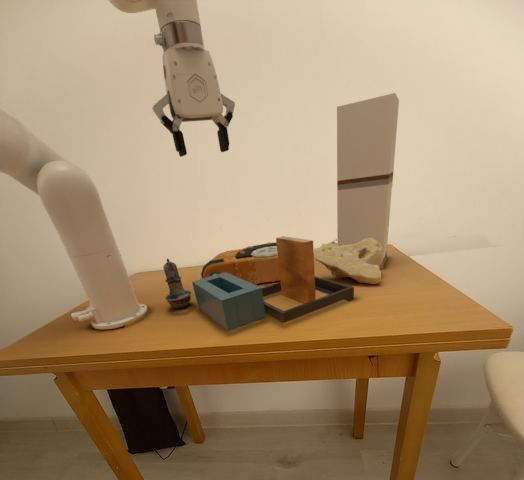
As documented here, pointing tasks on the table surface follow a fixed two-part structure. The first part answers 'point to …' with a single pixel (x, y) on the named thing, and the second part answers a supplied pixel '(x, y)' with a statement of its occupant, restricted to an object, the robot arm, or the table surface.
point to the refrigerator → (365, 169)
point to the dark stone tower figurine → (175, 287)
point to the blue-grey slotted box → (229, 300)
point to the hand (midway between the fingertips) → (204, 153)
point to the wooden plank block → (296, 268)
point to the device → (247, 264)
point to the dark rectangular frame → (322, 285)
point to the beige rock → (353, 260)
